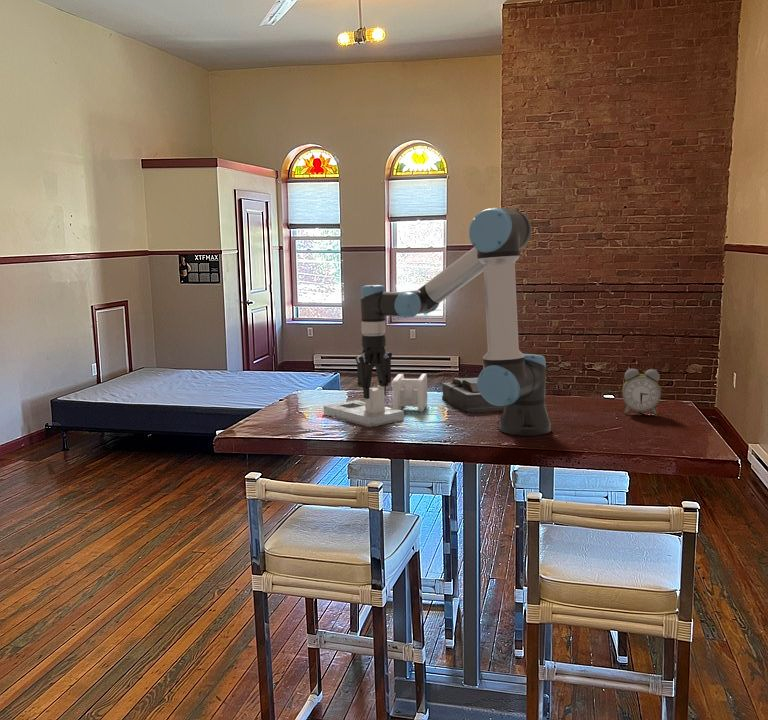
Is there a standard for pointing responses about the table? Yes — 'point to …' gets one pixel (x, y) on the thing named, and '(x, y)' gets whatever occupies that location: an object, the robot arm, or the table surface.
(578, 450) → the table surface
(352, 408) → the panel
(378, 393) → the plug
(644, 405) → the alarm clock
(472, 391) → the dark grey tray
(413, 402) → the cable organizer
